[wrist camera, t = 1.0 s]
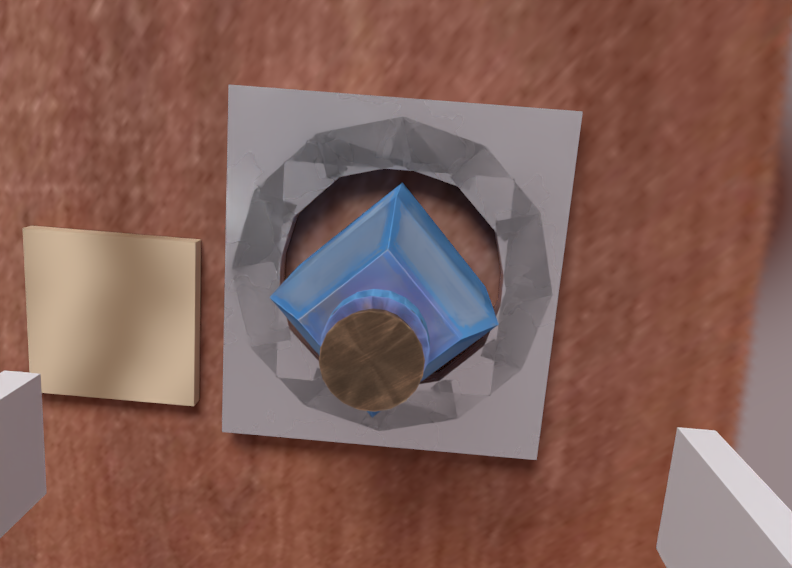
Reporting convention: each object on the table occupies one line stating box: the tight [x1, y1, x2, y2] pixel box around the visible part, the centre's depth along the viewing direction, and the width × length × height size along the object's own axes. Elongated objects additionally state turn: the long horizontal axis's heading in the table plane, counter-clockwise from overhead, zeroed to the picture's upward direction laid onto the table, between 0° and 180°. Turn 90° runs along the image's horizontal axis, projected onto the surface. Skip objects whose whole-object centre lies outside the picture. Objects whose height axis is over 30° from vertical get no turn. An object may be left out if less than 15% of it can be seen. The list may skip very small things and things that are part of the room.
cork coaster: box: [23, 226, 201, 406], centre depth 33 cm, size 8×8×1 cm
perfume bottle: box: [270, 182, 499, 417], centre depth 26 cm, size 6×6×12 cm
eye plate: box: [222, 85, 583, 460], centre depth 32 cm, size 15×16×1 cm
